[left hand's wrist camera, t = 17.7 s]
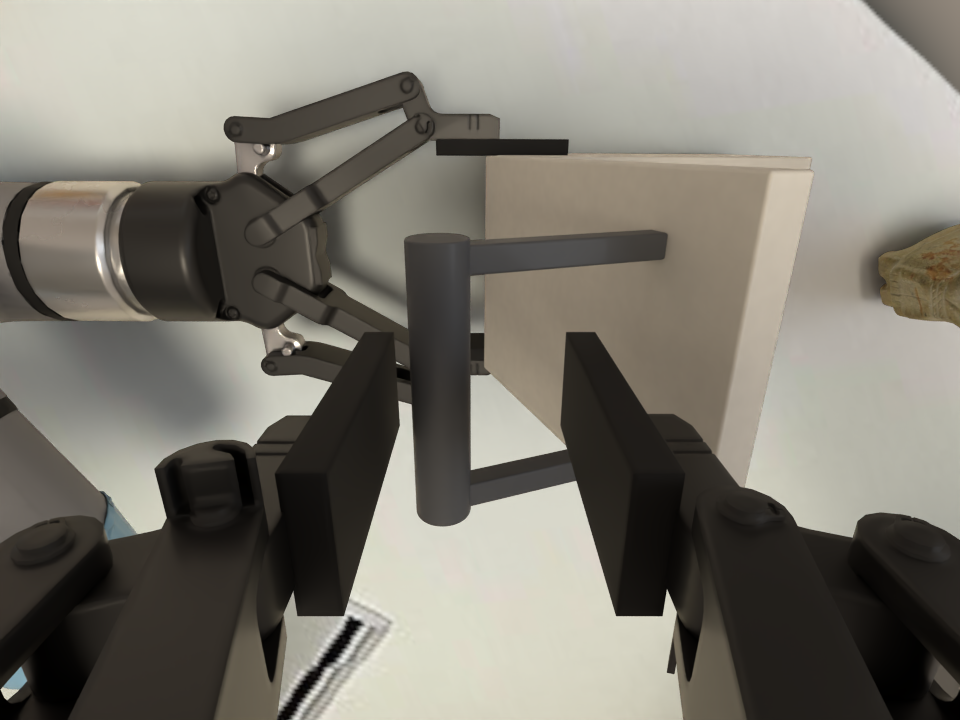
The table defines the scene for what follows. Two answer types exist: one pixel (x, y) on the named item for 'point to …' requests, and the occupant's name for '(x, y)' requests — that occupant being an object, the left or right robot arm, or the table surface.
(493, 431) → the table surface
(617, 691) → the table surface
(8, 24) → the table surface
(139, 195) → the right robot arm
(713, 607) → the left robot arm
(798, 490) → the table surface
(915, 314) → the sculpture
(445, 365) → the lid
